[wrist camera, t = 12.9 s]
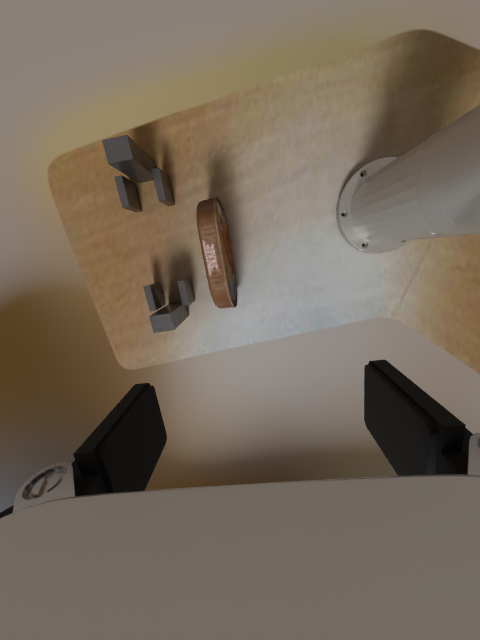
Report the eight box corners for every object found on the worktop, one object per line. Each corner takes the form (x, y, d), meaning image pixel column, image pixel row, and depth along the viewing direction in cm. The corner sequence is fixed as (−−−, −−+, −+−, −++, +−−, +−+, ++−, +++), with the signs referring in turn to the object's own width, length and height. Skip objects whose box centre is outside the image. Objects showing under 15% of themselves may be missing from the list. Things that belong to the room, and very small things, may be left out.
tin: (239, 300, 40) (236, 313, 32) (221, 303, 40) (213, 316, 32) (224, 203, 36) (216, 189, 28) (203, 206, 36) (190, 193, 28)
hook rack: (165, 158, 35) (140, 131, 27) (197, 314, 41) (185, 328, 33) (124, 166, 35) (89, 143, 27) (162, 319, 41) (142, 334, 34)
